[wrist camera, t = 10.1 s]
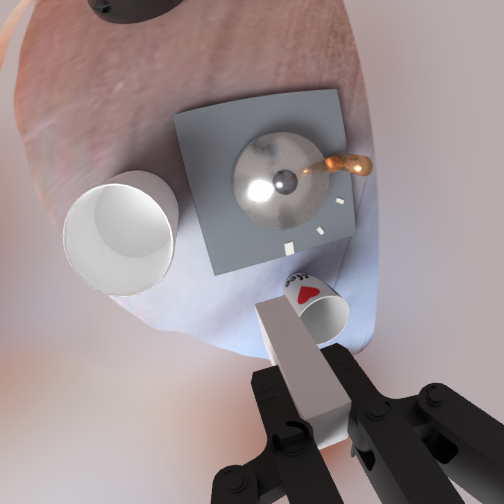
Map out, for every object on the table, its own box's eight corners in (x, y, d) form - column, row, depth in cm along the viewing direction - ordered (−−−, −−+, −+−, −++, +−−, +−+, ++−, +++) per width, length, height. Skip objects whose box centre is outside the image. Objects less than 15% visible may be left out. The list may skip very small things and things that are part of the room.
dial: (247, 236, 37) (258, 255, 31) (218, 148, 32) (225, 149, 26) (353, 199, 38) (379, 210, 32) (335, 117, 33) (362, 115, 28)
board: (173, 116, 32) (172, 115, 30) (330, 90, 34) (337, 88, 32) (213, 269, 41) (215, 276, 39) (349, 231, 43) (356, 235, 41)
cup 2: (323, 262, 44) (355, 292, 35) (317, 305, 47) (343, 340, 38) (275, 265, 42) (298, 299, 33) (272, 310, 45) (291, 349, 36)
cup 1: (87, 237, 35) (54, 274, 24) (112, 157, 32) (79, 165, 21) (161, 265, 39) (153, 312, 28) (192, 189, 36) (193, 209, 25)
